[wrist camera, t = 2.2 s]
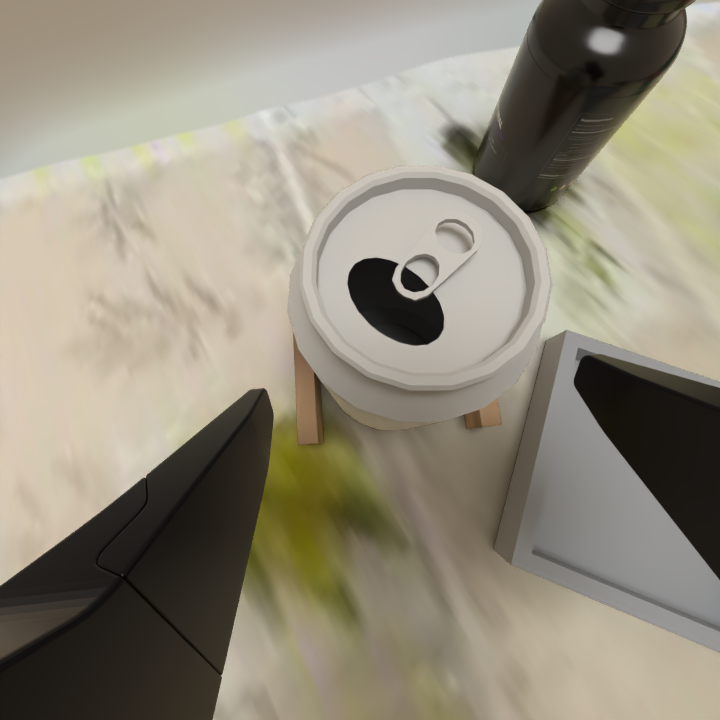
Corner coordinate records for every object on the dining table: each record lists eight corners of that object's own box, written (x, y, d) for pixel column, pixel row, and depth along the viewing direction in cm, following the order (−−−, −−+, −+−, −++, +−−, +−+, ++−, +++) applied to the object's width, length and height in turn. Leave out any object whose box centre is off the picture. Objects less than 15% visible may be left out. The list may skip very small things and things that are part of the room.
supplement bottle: (454, 157, 23) (549, -132, 11) (532, 127, 24) (699, -177, 12) (502, 230, 21) (669, -19, 10) (584, 195, 22) (835, -78, 10)
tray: (740, 652, 15) (795, 684, 13) (493, 549, 16) (511, 564, 15) (757, 413, 18) (805, 411, 16) (546, 340, 19) (566, 329, 17)
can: (301, 369, 19) (206, 261, 7) (385, 290, 20) (416, 92, 9) (389, 458, 18) (440, 500, 6) (473, 368, 19) (649, 259, 7)
